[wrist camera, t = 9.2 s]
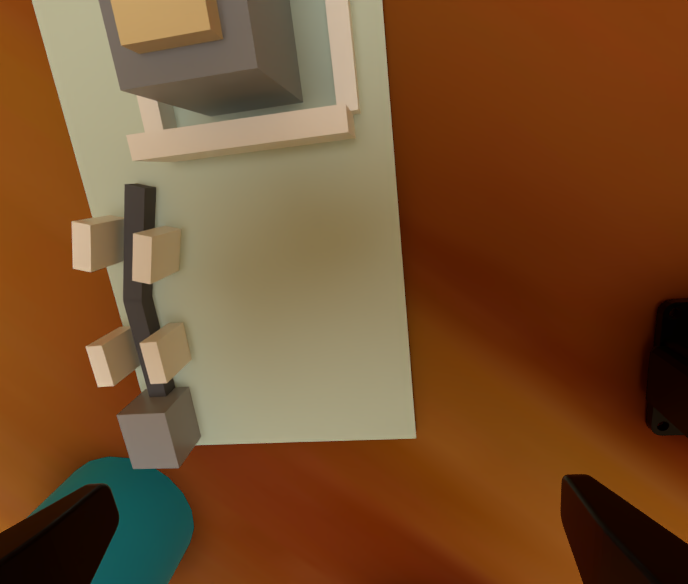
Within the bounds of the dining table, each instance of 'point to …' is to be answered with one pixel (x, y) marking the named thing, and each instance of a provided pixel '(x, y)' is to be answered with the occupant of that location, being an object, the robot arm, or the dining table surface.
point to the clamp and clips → (142, 344)
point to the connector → (205, 52)
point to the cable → (136, 293)
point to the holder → (259, 131)
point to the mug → (136, 521)
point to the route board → (263, 242)
